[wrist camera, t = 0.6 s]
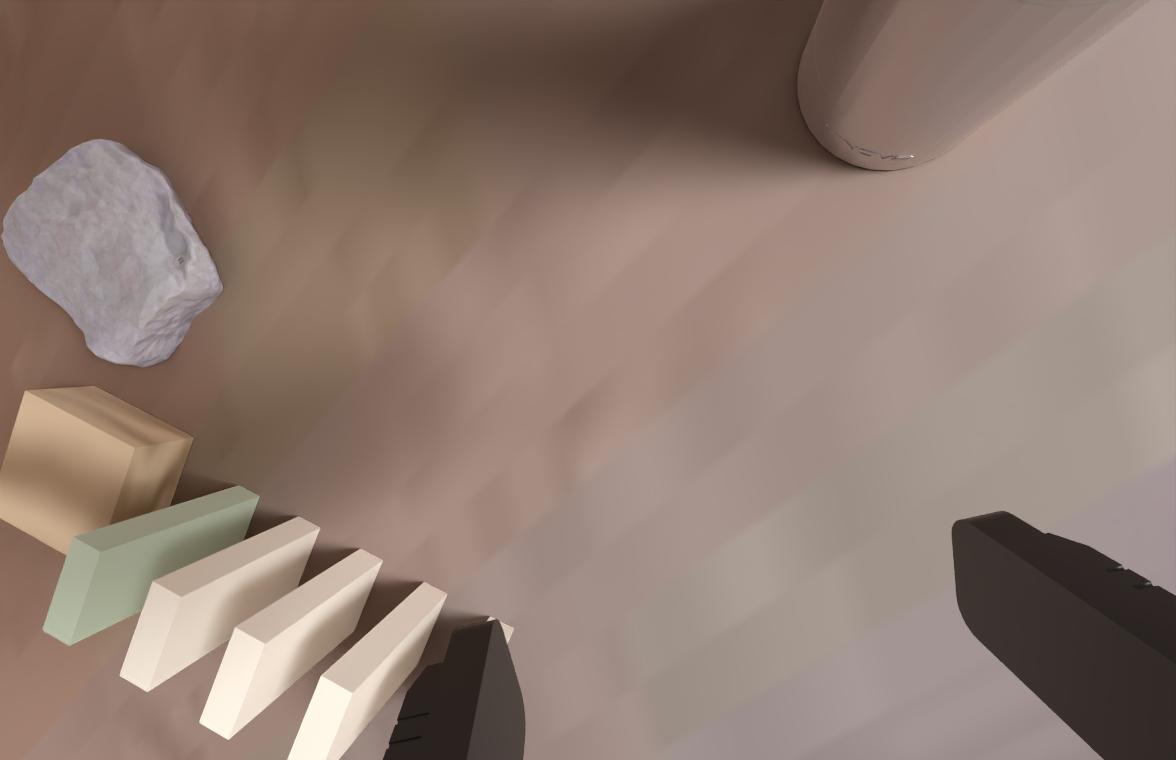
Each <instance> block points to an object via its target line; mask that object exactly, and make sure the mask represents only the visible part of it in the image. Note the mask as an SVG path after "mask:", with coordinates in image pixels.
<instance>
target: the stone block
mask: <svg viewBox="0 0 1176 760" xmlns="http://www.w3.org/2000/svg"><path fill="white" fill-rule="evenodd" d="M3 228H4V232H3V234H2V235H1V238H2V239H3V245H4V247H5V248H6V251H7V254H8V257H9V259H10V260H11V261H12V262H13V263H14V264H15V265H16V267H17V268H18V269H19V270H20V271H21V272H22V273H23V274H24V275H25V276H26V277H27V278H28V280H29V281H30V282H32V283H33V284H34V285H35V286H36V287H37V288H38V289H40V290H41V291H42V292H43V293H44V294H45V295H46V296H48V297H49V298H50V299H52V300H53V301H54V302H56V303H57V304H58V305H60V306H61V307H62V308H63V309H64V310H65V311H66V312H67V313H68V314H69V315H70V316H71V317H72V318H73V320H74V322H75V324H76V325H77V326H78V327H79V328H80V329H81V330H82V331H83V333H84V335H85V341H86V345H87V346H88V348H89V349H90V350H91V351H92V352H93V353H94V354H95V355H96V356H97V357H99V358H102V359H104V360H107V361H109V362H112V363H115V364H126V365H133V366H137V367H148V366H152V365H156V364H158V363H160V362H162V361H164V360H166V359H168V358H169V357H170V356H171V354H172V353H173V352H174V351H175V350H176V348H177V346H178V345H179V344H180V343H181V342H182V340H183V338H184V336H185V334H186V333H187V331H188V329H189V328H190V325H191V322H192V321H193V319H194V318H195V317H196V316H197V315H198V314H199V313H201V312H202V311H203V310H204V309H206V308H208V307H209V306H210V305H211V304H212V303H213V302H214V301H215V299H216V298H217V297H218V296H219V295H220V294H221V292H222V290H223V284H222V282H221V280H220V277H219V274H218V273H217V270H216V267H215V264H214V262H213V260H212V259H211V257H210V254H209V252H208V249H207V248H206V247H205V246H204V245H203V243H202V242H201V240H200V237H199V235H198V234H197V233H196V231H195V229H194V227H193V223H192V219H191V218H190V216H189V214H188V213H187V212H186V210H185V208H184V206H183V204H182V202H181V199H180V198H179V197H178V195H177V194H176V192H175V191H174V189H173V187H172V185H171V183H170V180H169V178H168V177H167V176H166V174H165V173H164V172H163V170H161V169H159V168H157V167H155V166H153V165H151V164H149V163H147V162H145V161H143V160H142V159H141V158H140V157H139V156H137V155H136V154H135V153H134V152H132V151H130V150H129V149H128V148H126V147H125V145H122V144H120V143H118V142H114V141H111V140H104V139H96V140H90V141H89V142H84V143H82V144H80V145H77V146H75V147H73V148H71V149H69V151H68V152H67V153H65V154H64V155H63V156H62V158H60V159H59V160H57V161H56V162H55V163H53V164H52V165H51V166H50V167H49V168H48V169H46V170H45V171H43V172H42V173H41V174H39V175H38V176H36V177H35V178H34V179H33V182H32V184H31V185H30V187H29V188H28V189H27V191H25V192H23V193H22V194H20V195H19V196H18V197H17V198H16V200H15V201H14V202H13V203H12V204H11V206H10V208H9V210H8V212H7V214H6V216H5V218H4V220H3Z"/></svg>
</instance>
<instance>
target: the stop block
mask: <svg viewBox="0 0 1176 760" xmlns="http://www.w3.org/2000/svg"><path fill="white" fill-rule="evenodd" d="M193 439H194V437H193V436H191V435H189V434H187V433H185V432H183V431H181V430H179V429H177V428H175V427H173V426H171V425H169V424H167V423H165V422H163V421H162V420H160V419H158V418H156V417H154V416H152V415H150V414H148V413H146V412H144V411H142V410H140V409H138V408H136V407H134V406H132V405H130V404H128V403H127V402H125V401H123V400H121V399H119V398H117V397H115V396H113V395H111V394H109V393H107V392H105V391H103V390H101V389H99V388H97V387H95V386H85V387H70V388H54V389H39V390H25V393H24V396H23V399H22V402H21V406H20V409H19V412H18V415H17V419H16V422H15V425H14V428H13V432H12V435H11V438H10V441H9V445H8V448H7V451H6V454H5V458H4V461H3V464H2V467H1V471H0V518H1V519H3V520H5V521H6V522H8V523H10V524H12V525H13V526H15V527H17V528H19V529H20V530H22V531H24V532H26V533H28V534H29V535H31V536H33V537H35V538H36V539H38V540H40V541H42V542H43V543H45V544H47V545H49V546H51V547H52V548H54V549H56V550H58V551H59V552H61V553H63V554H65V555H66V556H67V554H68V551H69V548H70V545H71V542H72V539H73V537H74V536H77V535H80V534H83V533H87V532H90V531H93V530H96V529H99V528H103V527H106V526H109V525H112V524H115V523H119V522H122V521H125V520H128V519H132V518H135V517H138V516H141V515H144V514H148V513H151V512H154V511H157V510H161V509H164V508H167V507H170V505H171V502H172V499H173V496H174V493H175V491H176V488H177V485H178V482H179V479H180V476H181V473H182V471H183V468H184V465H185V462H186V459H187V456H188V453H189V451H190V448H191V445H192V442H193Z"/></svg>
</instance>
